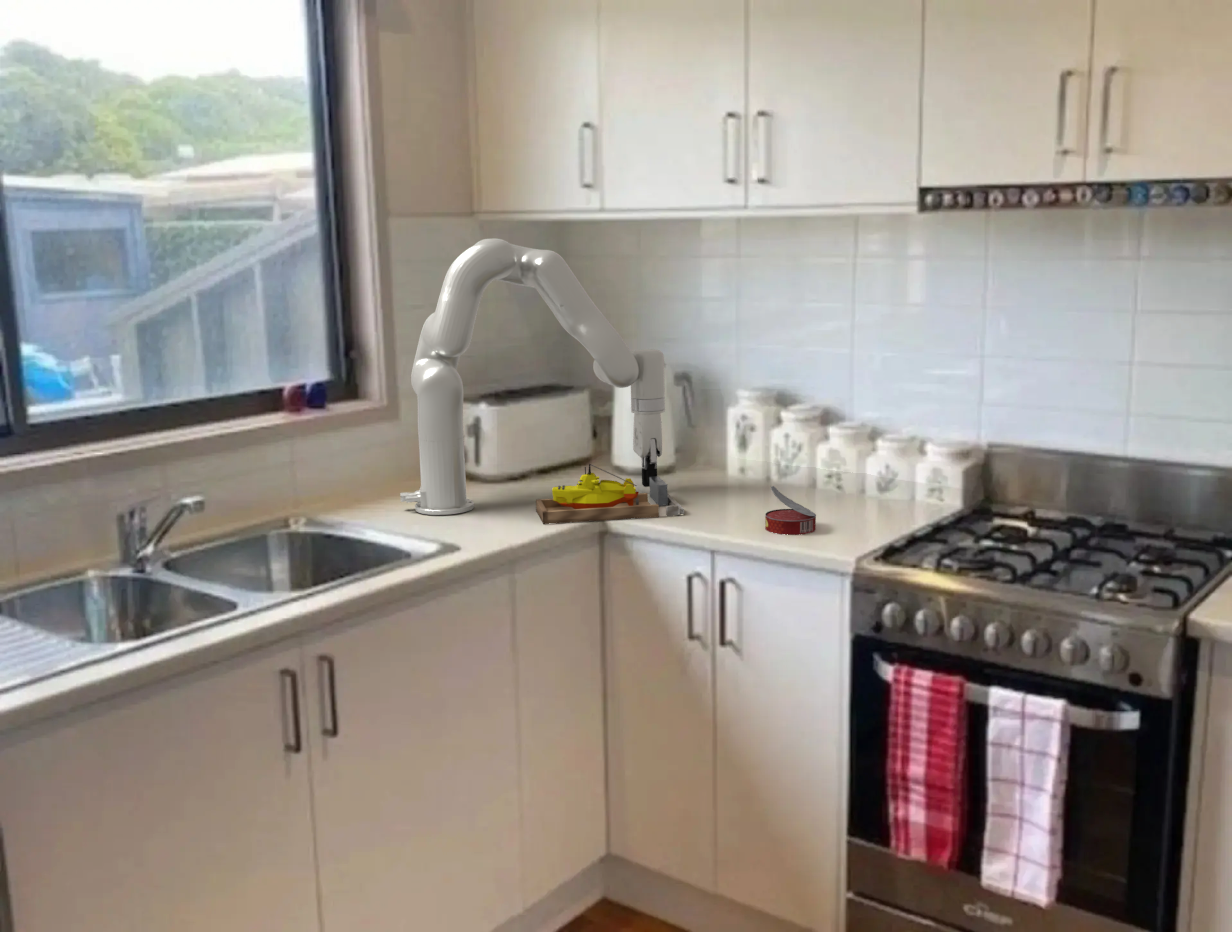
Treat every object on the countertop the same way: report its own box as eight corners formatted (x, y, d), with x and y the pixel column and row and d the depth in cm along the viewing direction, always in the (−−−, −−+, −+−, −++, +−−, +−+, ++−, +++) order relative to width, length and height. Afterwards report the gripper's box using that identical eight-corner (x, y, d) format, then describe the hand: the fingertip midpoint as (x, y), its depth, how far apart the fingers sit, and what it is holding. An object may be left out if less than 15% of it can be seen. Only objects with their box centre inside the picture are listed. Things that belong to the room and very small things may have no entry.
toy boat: (639, 512, 249) (638, 465, 248) (552, 514, 249) (550, 467, 247) (638, 505, 256) (637, 459, 254) (553, 507, 256) (551, 461, 254)
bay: (543, 524, 245) (542, 512, 244) (531, 502, 265) (531, 491, 264) (684, 515, 250) (684, 503, 249) (663, 494, 270) (663, 483, 269)
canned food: (780, 545, 243) (791, 498, 245) (822, 548, 236) (832, 499, 238) (747, 529, 236) (758, 480, 238) (788, 531, 228) (799, 481, 231)
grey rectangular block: (658, 505, 258) (658, 485, 257) (649, 496, 267) (649, 476, 266) (667, 505, 259) (667, 484, 258) (658, 496, 267) (658, 476, 267)
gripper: (625, 401, 275) (627, 480, 279) (638, 411, 261) (639, 493, 264) (657, 399, 277) (658, 478, 280) (671, 409, 262) (673, 491, 266)
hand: (649, 485), depth 272 cm, fingers closed
